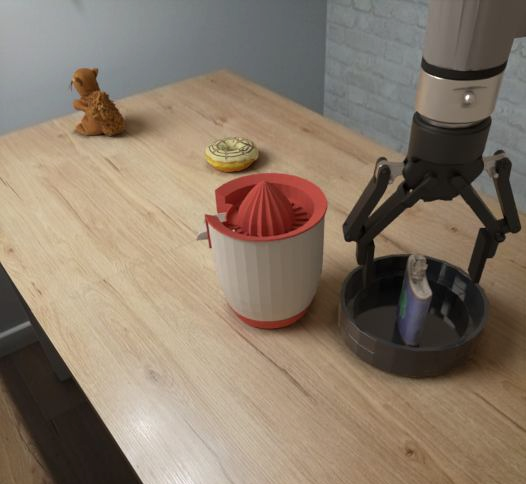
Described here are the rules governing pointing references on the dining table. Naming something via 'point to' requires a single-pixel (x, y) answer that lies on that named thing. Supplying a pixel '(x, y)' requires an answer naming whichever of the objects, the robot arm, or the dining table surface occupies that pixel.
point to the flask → (413, 301)
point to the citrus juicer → (267, 246)
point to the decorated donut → (231, 154)
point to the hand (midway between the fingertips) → (419, 279)
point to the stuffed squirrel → (95, 106)
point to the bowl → (436, 325)
